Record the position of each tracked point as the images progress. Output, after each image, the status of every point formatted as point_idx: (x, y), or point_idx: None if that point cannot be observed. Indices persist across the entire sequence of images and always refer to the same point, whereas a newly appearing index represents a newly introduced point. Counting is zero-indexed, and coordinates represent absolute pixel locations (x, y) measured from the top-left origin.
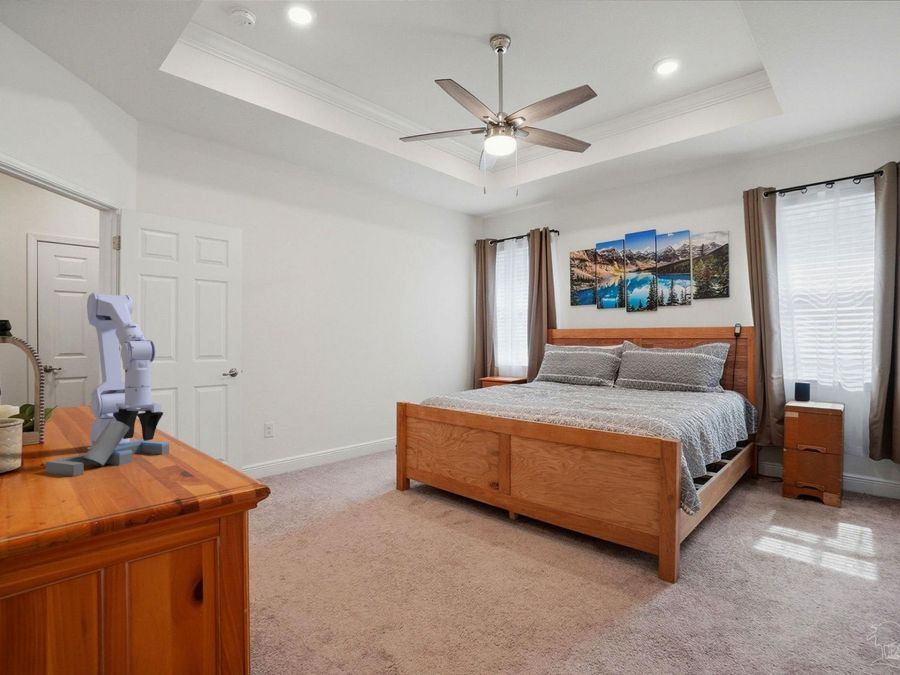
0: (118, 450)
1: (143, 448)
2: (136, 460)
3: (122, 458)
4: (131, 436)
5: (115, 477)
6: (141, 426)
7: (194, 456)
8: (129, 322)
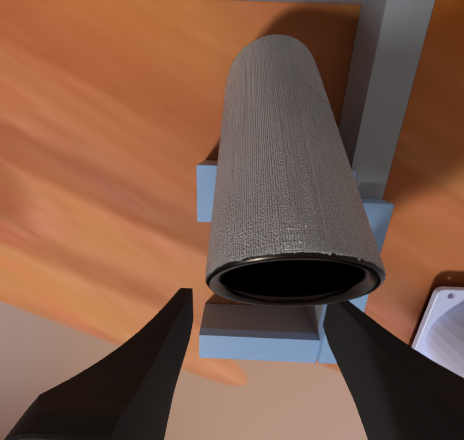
0: None
1: (300, 321)
2: None
3: None
4: (326, 325)
5: (12, 4)
6: (164, 336)
7: (95, 319)
8: None
